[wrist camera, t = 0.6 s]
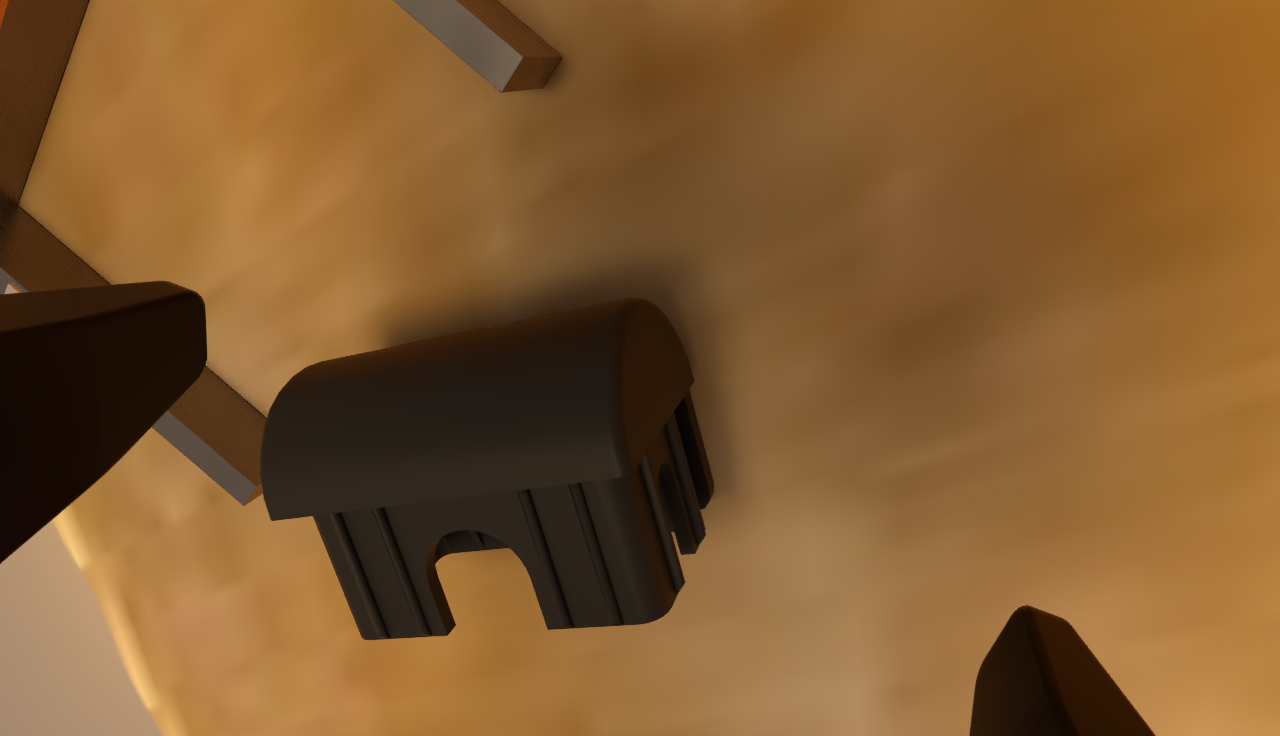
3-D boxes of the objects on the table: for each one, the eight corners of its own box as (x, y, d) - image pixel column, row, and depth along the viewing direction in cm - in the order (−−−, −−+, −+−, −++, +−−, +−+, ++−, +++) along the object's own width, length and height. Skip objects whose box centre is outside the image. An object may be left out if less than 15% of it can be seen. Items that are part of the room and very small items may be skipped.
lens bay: (294, 471, 30) (237, 510, 27) (-13, 208, 30) (-98, 223, 27) (562, 56, 22) (517, 57, 20) (152, -293, 22) (56, -336, 20)
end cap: (674, 265, 23) (590, 340, 17) (735, 497, 25) (677, 638, 19) (375, 329, 27) (218, 410, 21) (447, 529, 29) (322, 656, 23)
